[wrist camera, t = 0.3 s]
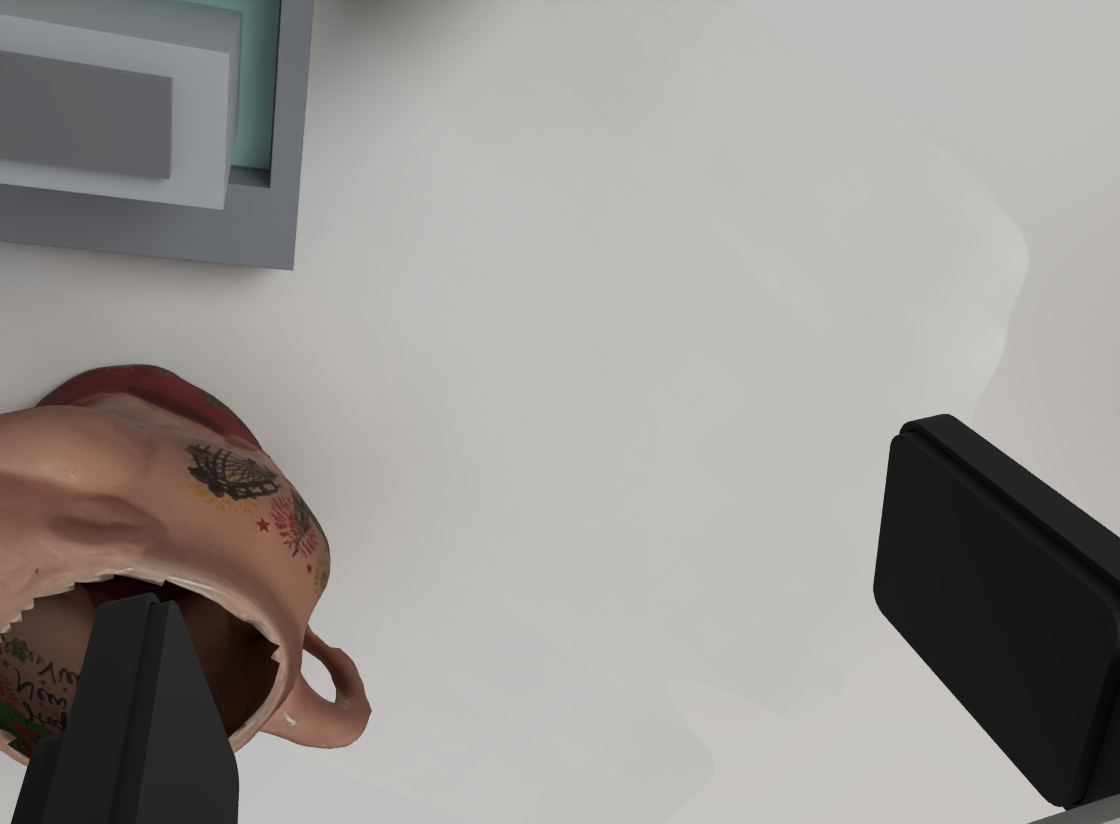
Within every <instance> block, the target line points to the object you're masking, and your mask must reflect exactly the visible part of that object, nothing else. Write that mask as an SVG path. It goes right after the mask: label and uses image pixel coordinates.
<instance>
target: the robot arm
mask: <svg viewBox="0 0 1120 824" xmlns="http://www.w3.org/2000/svg"><path fill="white" fill-rule="evenodd" d="M873 592H874V597H875V600H876V603H877V605H878V607H879V609H880V611H881V612H882V614H883V615H884V616H885V617H886V618H887V619H888V621H889V622H890V623H891V624H892V625H893V626H894V627H895V628H896V630H897V631H898V632H899V633H900V634H901V635H902V637H903V638H904V639H905V640H906V641H907V642H908V643H909V644H910V646H911V647H912V648H913V649H914V650H915V651H916V652H917V654H918V655H919V656H920V657H921V658H922V659H923V661H924V662H925V663H926V664H927V665H928V666H929V667H930V668H931V669H932V671H933V672H934V673H935V674H936V675H937V676H938V678H939V679H940V680H941V681H942V682H943V683H944V684H945V686H946V687H947V688H948V689H949V690H950V691H951V693H952V694H953V695H954V696H955V697H956V698H957V699H958V700H959V701H960V703H961V704H962V705H963V706H964V707H965V709H966V710H967V711H968V712H969V713H970V714H971V715H972V717H973V718H974V719H975V720H976V721H977V722H978V723H979V725H980V726H981V727H982V728H983V729H984V730H985V731H986V732H987V734H988V735H989V736H990V737H991V738H992V739H993V741H994V742H995V743H996V744H997V745H998V746H999V747H1000V749H1001V750H1002V751H1003V752H1004V753H1005V754H1006V755H1007V757H1008V758H1009V759H1010V760H1011V761H1012V762H1013V763H1014V764H1015V766H1016V767H1017V768H1018V769H1019V770H1020V771H1021V773H1022V774H1023V775H1024V776H1025V777H1026V778H1027V779H1028V780H1029V782H1030V783H1031V784H1032V785H1033V786H1034V787H1035V788H1036V790H1037V791H1038V792H1039V793H1040V794H1041V795H1042V796H1043V797H1044V798H1045V799H1046V800H1047V801H1048V802H1049V803H1051V804H1053V805H1054V806H1058V807H1063V808H1064V809H1065V810H1066V811H1065V812H1062V813H1059V814H1056V815H1053V816H1049V817H1046V818H1043V819H1040V820H1037V821H1034V822H1031V823H1028V824H1120V537H1118V536H1117V535H1115V534H1114V533H1113V532H1111V531H1110V530H1108V529H1107V528H1106V527H1105V526H1103V525H1102V524H1100V523H1099V522H1098V521H1096V520H1095V519H1093V518H1092V517H1091V516H1089V515H1088V514H1087V513H1085V512H1084V511H1083V510H1081V509H1080V508H1078V507H1077V506H1076V505H1074V504H1073V503H1072V502H1070V501H1069V500H1068V499H1066V498H1065V497H1063V496H1062V495H1061V494H1059V493H1058V492H1057V491H1055V490H1054V489H1052V488H1051V487H1050V486H1048V485H1047V484H1046V483H1044V482H1043V481H1042V480H1040V479H1039V478H1038V477H1036V476H1035V475H1033V474H1032V473H1031V472H1029V471H1028V470H1027V469H1025V468H1024V467H1022V466H1021V465H1020V464H1018V463H1017V462H1015V461H1014V460H1013V459H1011V458H1010V457H1009V456H1007V455H1006V454H1005V453H1003V452H1002V451H1001V450H999V449H998V448H996V447H995V446H993V445H992V444H991V443H990V442H988V441H987V440H986V439H984V438H983V437H981V436H980V435H978V434H977V433H976V432H975V431H973V430H972V429H970V428H969V427H968V426H966V425H965V424H964V423H962V422H961V421H960V420H958V419H957V418H955V417H954V416H952V415H950V414H940V415H936V416H932V417H927V418H923V419H918V420H914V421H909V422H907V423H905V424H904V425H903V426H902V428H901V429H900V433H899V435H897V436H895V437H894V438H893V439H892V441H891V445H890V452H889V461H888V469H887V477H886V485H885V494H884V502H883V510H882V518H881V526H880V535H879V543H878V551H877V559H876V568H875V576H874V584H873ZM238 801H239V777H238V768H237V763H236V759H235V756H234V752H233V750H232V747H231V744H230V742H229V739H228V737H227V734H226V731H225V729H224V726H223V723H222V721H221V718H220V715H219V713H218V710H217V707H216V705H215V702H214V699H213V697H212V694H211V691H210V689H209V686H208V684H207V681H206V678H205V676H204V673H203V670H202V668H201V665H200V662H199V660H198V657H197V654H196V652H195V649H194V646H193V644H192V641H191V638H190V636H189V633H188V631H187V628H186V625H185V623H184V620H183V617H182V615H181V612H180V609H179V607H178V605H177V603H176V602H175V601H173V600H171V601H167V602H162V603H160V601H159V599H158V597H157V596H156V595H155V594H154V593H152V592H150V593H145V594H141V595H137V596H132V597H128V598H123V599H119V600H114V601H110V602H106V603H102V604H101V605H99V606H98V609H97V611H96V615H95V618H94V622H93V626H92V630H91V634H90V638H89V641H88V645H87V649H86V653H85V657H84V661H83V665H82V668H81V672H80V676H79V680H78V684H77V688H76V691H75V695H74V699H73V703H72V707H71V711H70V714H69V718H68V722H67V726H66V730H65V732H61V733H57V734H53V735H49V736H44V737H42V738H41V739H40V740H39V741H38V742H37V743H36V745H35V747H34V749H33V752H32V754H31V757H30V760H29V763H28V767H27V770H26V774H25V777H24V780H23V784H22V787H21V791H20V794H19V797H18V801H17V804H16V808H15V811H14V814H13V818H12V821H11V824H238Z"/></svg>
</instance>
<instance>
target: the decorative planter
mask: <svg viewBox="0 0 1120 824" xmlns="http://www.w3.org/2000/svg"><path fill="white" fill-rule="evenodd" d="M330 560H331V559H330V552H329V545H328V541H327V538H326V536H325V534H324V532H323V530H322V528H321V526H320V524H319V522H318V521H317V519H316V517H315V516H314V515H313V513H312V512H311V510H310V509H309V507H308V506H307V504H306V503H305V502H304V500H303V499H302V497H301V496H300V494H299V493H298V491H297V490H296V489H295V487H294V486H293V485H292V484H291V483H290V481H289V480H288V479H286V478H285V476H284V475H283V473H282V472H281V470H280V469H279V468H278V467H277V466H276V464H275V463H274V462H273V461H272V459H271V458H270V456H269V455H267V454H266V453H265V452H264V451H263V450H262V447H261V446H260V444H259V442H258V441H257V439H256V438H255V437H254V435H253V434H252V433H251V431H250V430H249V429H248V428H247V426H246V425H245V424H244V423H243V422H242V421H241V420H240V419H239V418H238V417H237V415H236V414H235V413H234V412H232V411H231V410H230V409H229V408H228V407H227V406H226V405H224V404H223V403H222V402H220V401H219V400H218V399H216V398H215V397H214V396H212V395H210V394H209V393H207V392H206V391H204V390H202V389H200V388H198V387H196V386H194V385H192V384H190V383H188V382H187V381H185V380H183V379H182V378H180V377H179V376H177V375H176V374H174V373H173V372H170V371H168V370H166V369H164V368H160V367H157V366H152V365H138V364H135V365H123V366H110V367H103V368H97V369H93V370H89V371H87V372H84V373H82V374H80V375H78V376H76V377H74V378H72V379H70V380H68V381H67V382H65V383H64V384H62V385H61V386H59V387H58V388H57V389H55V390H54V391H52V392H51V393H50V394H48V395H47V396H46V397H45V398H44V399H42V400H41V401H40V402H39V403H38V404H37V405H36V406H35V407H34V408H30V409H24V410H19V411H14V412H9V413H5V414H0V750H1V751H3V752H4V753H6V754H7V755H9V756H10V757H11V758H13V759H14V760H16V761H18V762H19V763H21V764H23V765H25V766H27V767H28V763H29V760H30V757H31V754H32V752H33V749H34V747H35V745H36V743H37V742H38V741H39V740H40V739H41V738H42V737H44V736H49V735H53V734H57V733H61V732H65V730H66V726H67V722H68V718H69V714H70V711H71V707H72V703H73V699H74V695H75V691H76V688H77V684H78V680H79V676H80V672H81V668H82V665H83V661H84V657H85V653H86V649H87V645H88V641H89V638H90V634H91V630H92V626H93V622H94V618H95V615H96V611H97V609H98V606H99V605H101V604H102V603H106V602H110V601H114V600H119V599H123V598H128V597H132V596H137V595H141V594H145V593H150V592H152V593H154V594H155V595H156V596H157V597H158V599H159V601H160V603H162V602H167V601H171V600H173V601H175V602H176V603H177V605H178V607H179V609H180V612H181V615H182V617H183V620H184V623H185V625H186V628H187V631H188V633H189V636H190V638H191V641H192V644H193V646H194V649H195V652H196V654H197V657H198V660H199V662H200V665H201V668H202V670H203V673H204V676H205V678H206V681H207V684H208V686H209V689H210V691H211V694H212V697H213V699H214V702H215V705H216V707H217V710H218V713H219V715H220V718H221V721H222V723H223V726H224V729H225V731H226V734H227V737H228V739H229V742H230V744H231V747H232V750H233V752H234V753H235V752H237V751H238V750H239V749H241V748H242V747H243V746H244V745H246V744H247V743H248V742H249V741H250V740H251V739H252V738H253V737H254V736H255V735H256V733H257V732H258V731H261V732H265V733H269V734H272V735H275V736H278V737H281V738H284V739H287V740H289V741H291V742H293V743H296V744H299V745H303V746H308V747H316V748H328V749H332V748H340V747H346V746H348V745H350V744H352V743H353V742H354V741H356V740H357V739H358V738H359V737H360V736H361V735H362V733H363V732H364V730H365V728H366V725H367V723H368V719H369V716H370V714H371V712H372V710H371V707H370V704H369V702H368V700H367V698H366V695H365V690H364V685H363V682H362V680H361V678H360V676H359V673H358V670H357V668H356V666H355V664H354V662H353V660H352V659H351V658H350V657H349V656H348V655H347V654H346V653H345V652H343V651H342V650H341V649H340V648H332V647H329V646H328V645H327V644H325V643H324V642H323V641H322V640H321V639H320V638H319V637H318V636H317V635H315V634H314V633H313V632H312V630H311V629H310V627H309V625H308V621H309V618H310V616H311V614H312V611H313V609H314V607H315V606H316V604H317V602H318V600H319V599H320V597H321V595H322V593H323V591H324V590H325V588H326V586H327V582H328V578H329V574H330ZM302 648H303V649H304V650H306V651H307V652H309V653H310V654H312V655H313V656H315V657H316V658H317V659H319V660H320V661H321V662H322V663H323V664H324V665H325V667H326V668H327V669H328V671H329V672H330V674H331V677H332V680H333V683H334V685H335V688H336V700H335V703H333V702H329V701H327V700H326V699H324V698H322V697H321V696H320V695H318V694H317V693H316V692H315V691H314V690H313V689H312V688H311V687H310V686H309V685H308V683H307V682H306V680H305V679H304V677H303V676H302V674H301V672H300V670H301V665H302Z"/></svg>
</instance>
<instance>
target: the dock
mask: <svg viewBox="0 0 1120 824" xmlns="http://www.w3.org/2000/svg"><path fill="white" fill-rule="evenodd" d="M313 2H314V0H0V241H6V242H16V243H25V244H35V245H45V246H55V247H65V248H75V249H85V250H95V251H105V252H114V253H124V254H134V255H144V256H154V257H164V258H174V259H184V260H194V261H204V262H213V263H223V264H233V265H243V266H253V267H263V268H273V269H283V270H293V266H294V252H295V239H296V226H297V213H298V200H299V186H300V173H301V160H302V147H303V134H304V121H305V107H306V94H307V81H308V68H309V55H310V42H311V28H312V15H313Z"/></svg>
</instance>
